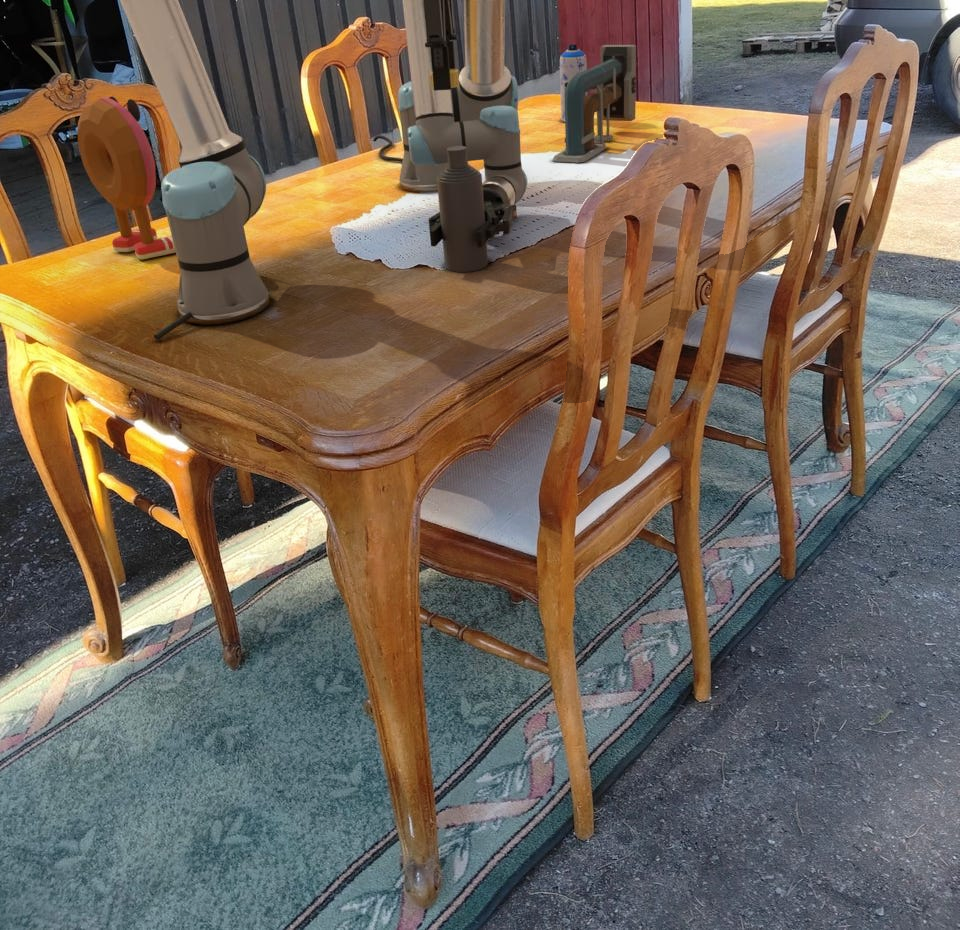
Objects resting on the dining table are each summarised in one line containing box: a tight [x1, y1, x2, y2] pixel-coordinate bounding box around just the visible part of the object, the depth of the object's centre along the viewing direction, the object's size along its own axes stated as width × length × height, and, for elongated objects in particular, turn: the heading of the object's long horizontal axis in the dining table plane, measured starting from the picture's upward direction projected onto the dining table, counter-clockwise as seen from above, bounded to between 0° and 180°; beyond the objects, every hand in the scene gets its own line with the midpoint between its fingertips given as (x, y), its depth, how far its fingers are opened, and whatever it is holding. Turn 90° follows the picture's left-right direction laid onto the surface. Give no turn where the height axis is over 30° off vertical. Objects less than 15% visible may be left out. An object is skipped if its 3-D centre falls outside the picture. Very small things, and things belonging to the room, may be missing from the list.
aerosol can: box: [559, 43, 588, 123], centre depth 273 cm, size 8×8×20 cm
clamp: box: [552, 44, 637, 164], centre depth 243 cm, size 35×9×21 cm, turn 151°
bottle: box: [437, 146, 489, 273], centre depth 171 cm, size 8×8×21 cm
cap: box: [430, 68, 460, 88], centre depth 158 cm, size 5×5×2 cm
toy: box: [77, 96, 176, 260], centre depth 191 cm, size 21×10×30 cm, turn 47°
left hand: (445, 86), depth 159 cm, fingers closed on cap, 4 cm apart
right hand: (455, 239), depth 170 cm, fingers closed on bottle, 8 cm apart
